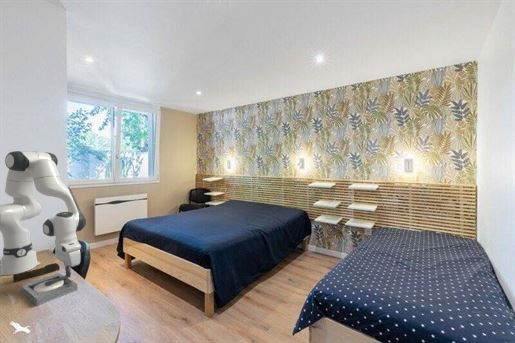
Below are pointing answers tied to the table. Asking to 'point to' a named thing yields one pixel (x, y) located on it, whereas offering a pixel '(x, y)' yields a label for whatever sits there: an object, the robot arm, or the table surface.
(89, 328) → the table surface
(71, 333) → the table surface
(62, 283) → the crank
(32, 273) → the hand tool
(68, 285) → the panel
